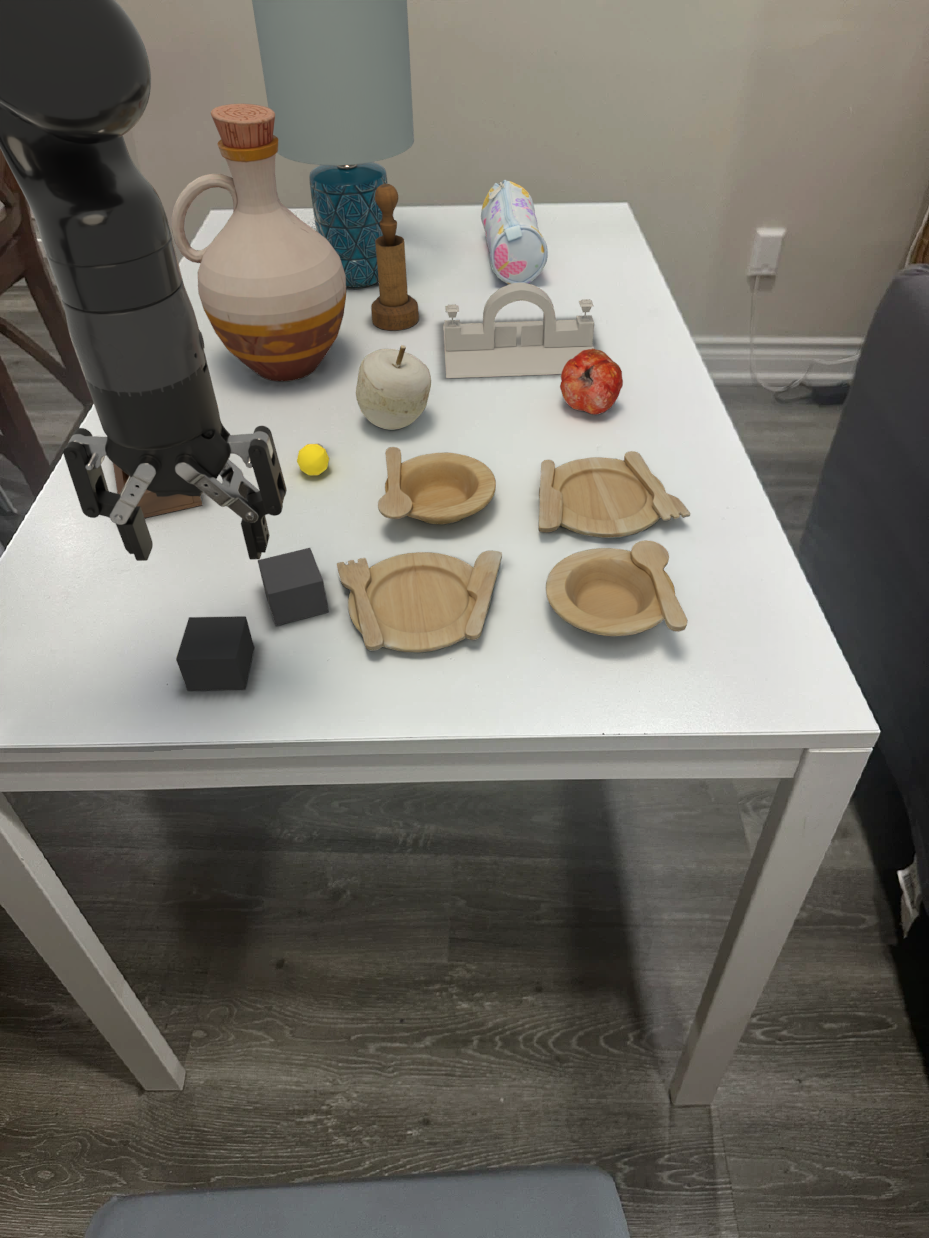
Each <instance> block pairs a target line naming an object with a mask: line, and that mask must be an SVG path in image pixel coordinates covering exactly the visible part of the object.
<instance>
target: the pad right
mask: <svg viewBox="0 0 929 1238" xmlns="http://www.w3.org/2000/svg"><path fill="white" fill-rule="evenodd" d="M257 565H258V568H259V572H260V577H261V581H262V585H263V589H264V593H265V597H266V599H267V604H268V606H269V609H270V612H271V615H272V619H273V622H274V626H275V627H277V626H278V627H279V626H281V625H285V624H288V623H292V622H293V623H294V622H296V621H300V620H304V619H308V618H311V617H315V616H319V615H323V614H327V613H329V606H328V601H327V596H326V588H325V583H324V580H323V577H322V574H321V571H320V568H319V566H318V564H317V562H316V558H315V556H314V554H313V550H312V548H311V547H307V548H303V549H298V550H294V551H290V552H285V553H281V554H277V555H273V556H269V557H265V558H260V559H257Z"/></svg>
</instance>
